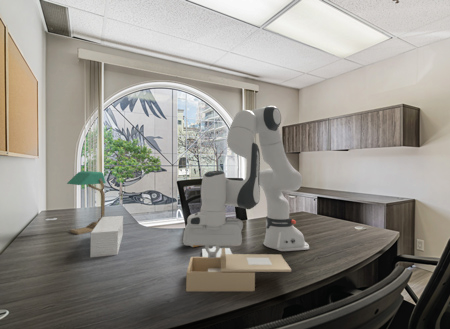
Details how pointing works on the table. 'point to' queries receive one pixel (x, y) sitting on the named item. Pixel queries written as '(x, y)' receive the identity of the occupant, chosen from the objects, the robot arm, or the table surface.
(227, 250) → the mounting plate
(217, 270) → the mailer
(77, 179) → the banker's lamp
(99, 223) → the stack of papers
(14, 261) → the table surface
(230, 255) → the lid
